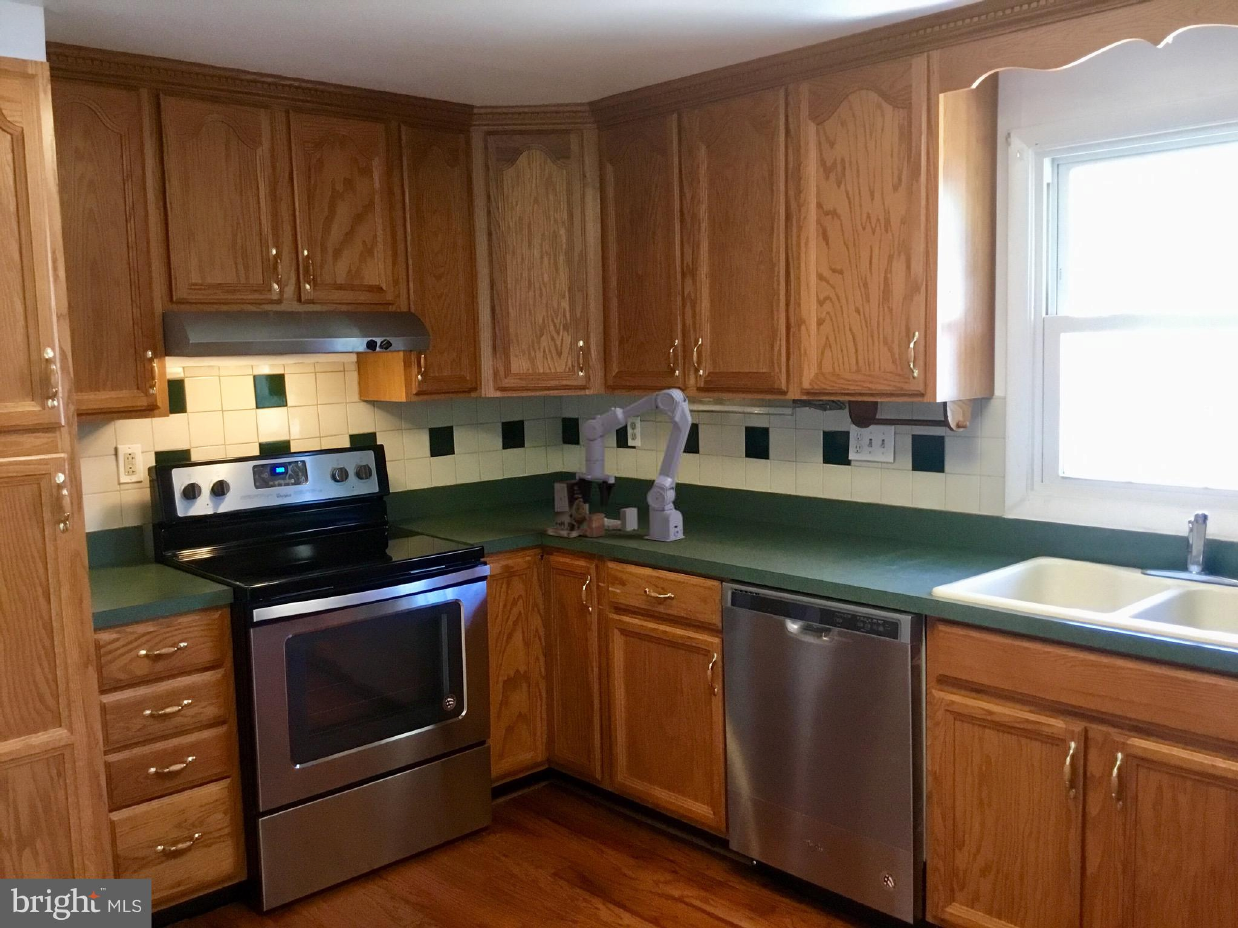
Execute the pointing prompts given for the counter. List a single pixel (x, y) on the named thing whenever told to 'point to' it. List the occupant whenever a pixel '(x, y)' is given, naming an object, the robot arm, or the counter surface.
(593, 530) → the carton sled
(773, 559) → the counter surface
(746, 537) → the counter surface
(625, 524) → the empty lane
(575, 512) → the coffee box
